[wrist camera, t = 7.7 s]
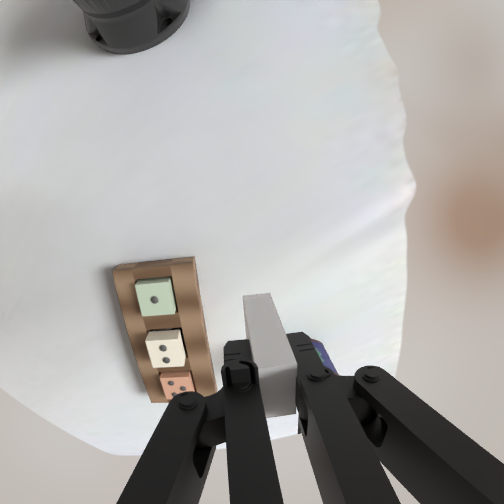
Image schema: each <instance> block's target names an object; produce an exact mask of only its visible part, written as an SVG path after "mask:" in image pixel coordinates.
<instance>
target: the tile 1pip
mask: <svg viewBox="0 0 504 504" xmlns="http://www.w3.org/2000/svg"><path fill="white" fill-rule="evenodd" d="M135 288H136V292H137V297H138V301H139V305H140V309H141V314H142V316H156V315H169V314H175V311H176V308H177V303H176V298H175V293H174V287H173V282H172V276H166V277H156V278H146V279H139V280H138V281H137V283H136V284H135Z"/></svg>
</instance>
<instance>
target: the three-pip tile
mask: <svg viewBox="0 0 504 504" xmlns="http://www.w3.org/2000/svg"><path fill="white" fill-rule="evenodd" d="M160 381H161V384H162V387H163V390H164V393H165V396H166V399H172V398H173V397H174V396H175V395H177V394H179V393H182V392H186V391H193V392H195V389H196V388H195V384H194V380H193V376H192V372H191V370H187V371H168V372H161V375H160Z"/></svg>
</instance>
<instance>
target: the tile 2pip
mask: <svg viewBox="0 0 504 504" xmlns="http://www.w3.org/2000/svg"><path fill="white" fill-rule="evenodd" d="M145 342H146V346H147V349H148V353H149V356H150V359H151V363H152V366H153V368H160V367H180V366H184V364H185V358H186V355H185V351H184V347H183V342H182V338H181V333H180V330H168V331H153V332H149V333H148V335H147V338H146V340H145Z"/></svg>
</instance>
